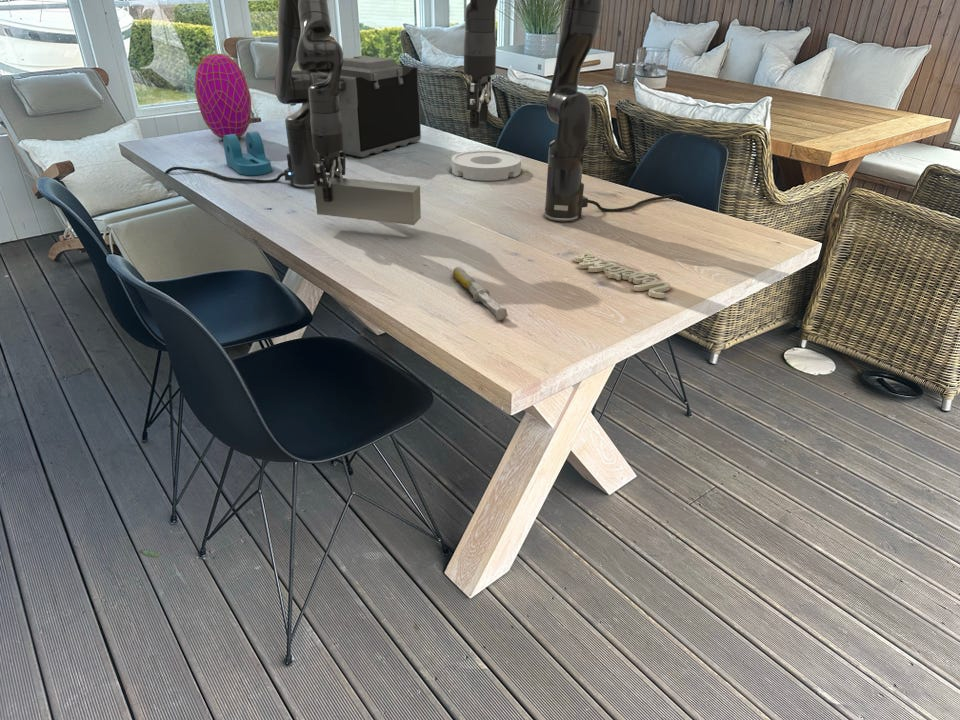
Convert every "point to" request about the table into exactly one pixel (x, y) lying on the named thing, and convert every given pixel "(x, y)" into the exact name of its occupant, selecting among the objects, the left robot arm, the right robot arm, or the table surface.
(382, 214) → the bar
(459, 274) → the syringe
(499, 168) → the ashtray
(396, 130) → the cooler box
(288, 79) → the left robot arm
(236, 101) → the decorative egg
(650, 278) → the decorative sign
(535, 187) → the table surface
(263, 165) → the camera mount
